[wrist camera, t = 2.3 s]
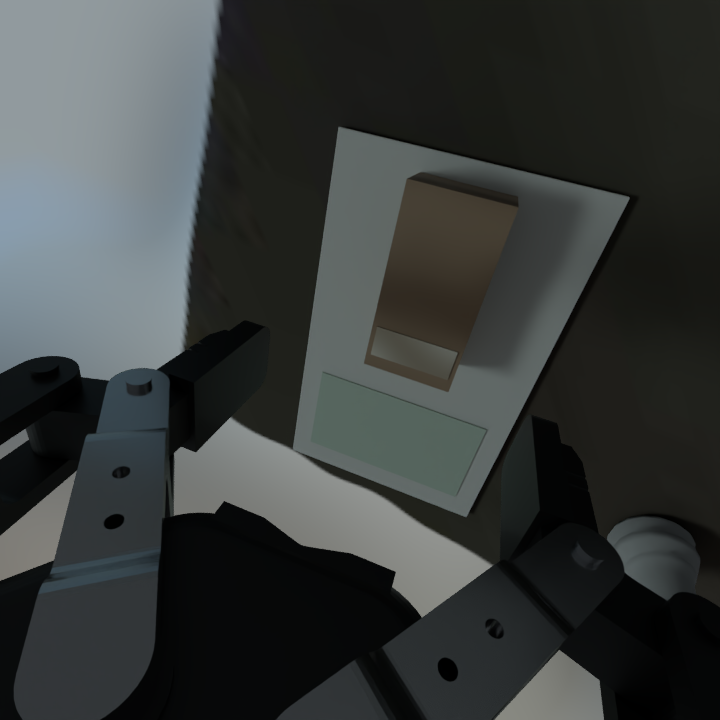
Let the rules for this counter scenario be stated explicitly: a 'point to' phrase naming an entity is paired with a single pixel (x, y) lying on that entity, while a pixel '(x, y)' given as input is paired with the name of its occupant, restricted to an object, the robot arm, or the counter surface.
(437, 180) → the brown rectangular block
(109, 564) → the robot arm
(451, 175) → the grey mat
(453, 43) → the counter surface
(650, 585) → the rook chess piece
